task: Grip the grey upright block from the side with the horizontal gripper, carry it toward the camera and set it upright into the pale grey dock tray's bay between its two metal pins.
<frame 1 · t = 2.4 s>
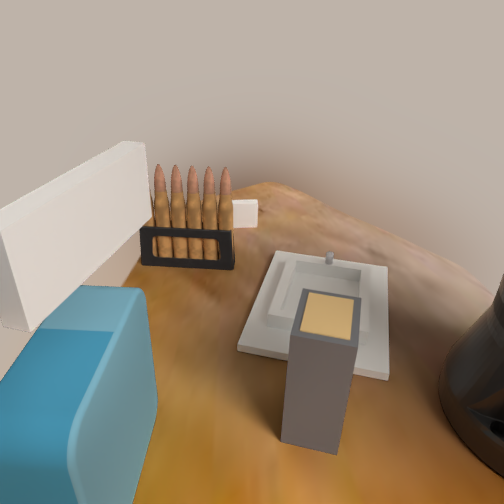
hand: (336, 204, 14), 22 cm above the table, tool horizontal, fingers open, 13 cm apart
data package: (105, 481, 29), on the table
grey upright block: (313, 419, 33), on the table
ammunition clip: (188, 265, 52), on the table
eraser: (239, 227, 60), on the table
dock tray: (321, 306, 45), on the table
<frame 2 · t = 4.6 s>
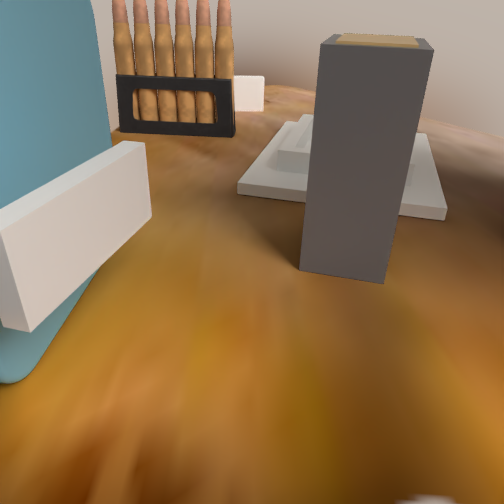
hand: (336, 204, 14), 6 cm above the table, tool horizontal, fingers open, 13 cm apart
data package: (34, 296, 19), on the table, touching gripper
grey upright block: (344, 251, 23), on the table
ammunition clip: (178, 134, 42), on the table
eraser: (241, 112, 50), on the table
dock tray: (346, 163, 35), on the table
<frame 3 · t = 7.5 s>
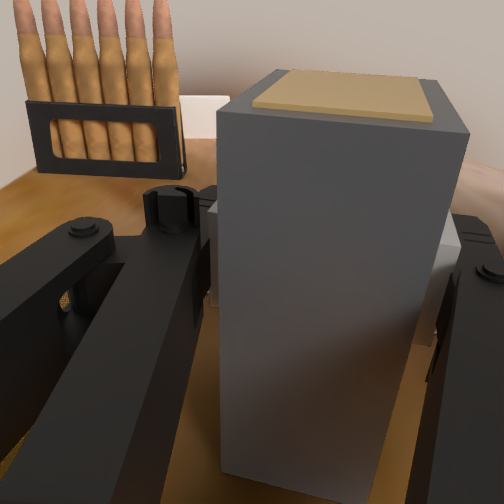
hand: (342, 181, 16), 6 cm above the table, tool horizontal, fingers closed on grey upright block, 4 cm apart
grey upright block: (304, 417, 14), on the table, touching gripper
ammunition clip: (114, 174, 33), on the table
eraser: (203, 139, 41), on the table
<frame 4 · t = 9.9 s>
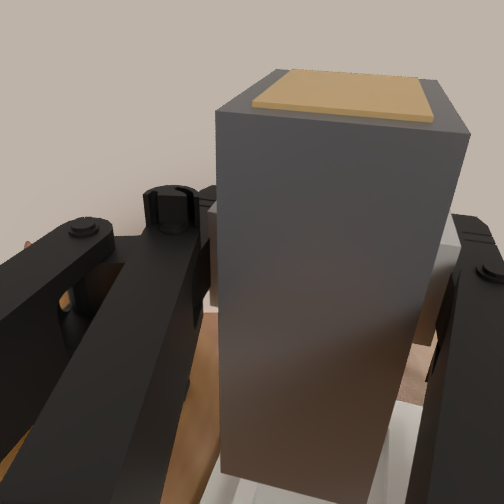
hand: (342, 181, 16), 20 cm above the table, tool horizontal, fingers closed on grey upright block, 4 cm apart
grey upright block: (303, 417, 14), point 14 cm above the table, touching gripper
dock tray: (319, 499, 26), on the table
when the fingers open (9 cm above the table, at t = 12.3 s): grey upright block drops 3 cm, resting on dock tray.
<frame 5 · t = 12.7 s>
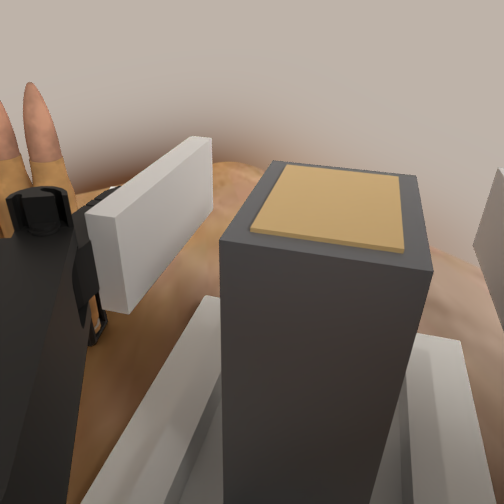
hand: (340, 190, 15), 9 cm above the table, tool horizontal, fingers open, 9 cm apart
grey upright block: (300, 465, 15), point 1 cm above the table, touching dock tray
ammunition clip: (0, 330, 23), on the table
dock tray: (296, 477, 16), on the table
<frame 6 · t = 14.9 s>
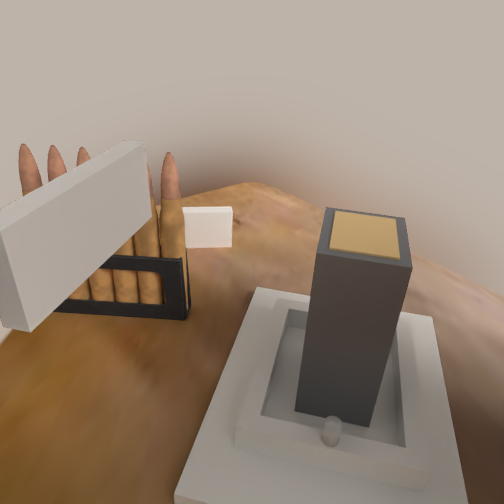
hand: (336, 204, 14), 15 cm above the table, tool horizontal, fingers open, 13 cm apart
grey upright block: (334, 385, 26), point 1 cm above the table, touching dock tray
ammunition clip: (117, 310, 32), on the table
eraser: (205, 246, 41), on the table
dock tray: (331, 394, 26), on the table
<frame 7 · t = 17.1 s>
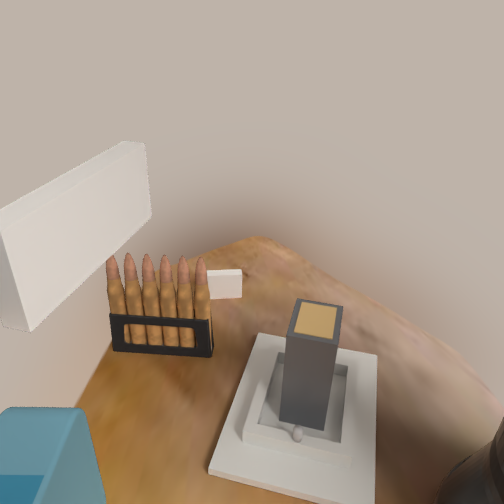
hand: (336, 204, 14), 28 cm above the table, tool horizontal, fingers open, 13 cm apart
grey upright block: (305, 404, 41), point 1 cm above the table, touching dock tray
ammunition clip: (164, 350, 48), on the table
eraser: (222, 297, 57), on the table
dock tray: (303, 409, 41), on the table
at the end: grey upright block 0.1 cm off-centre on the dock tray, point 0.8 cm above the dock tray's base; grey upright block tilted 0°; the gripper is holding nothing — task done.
